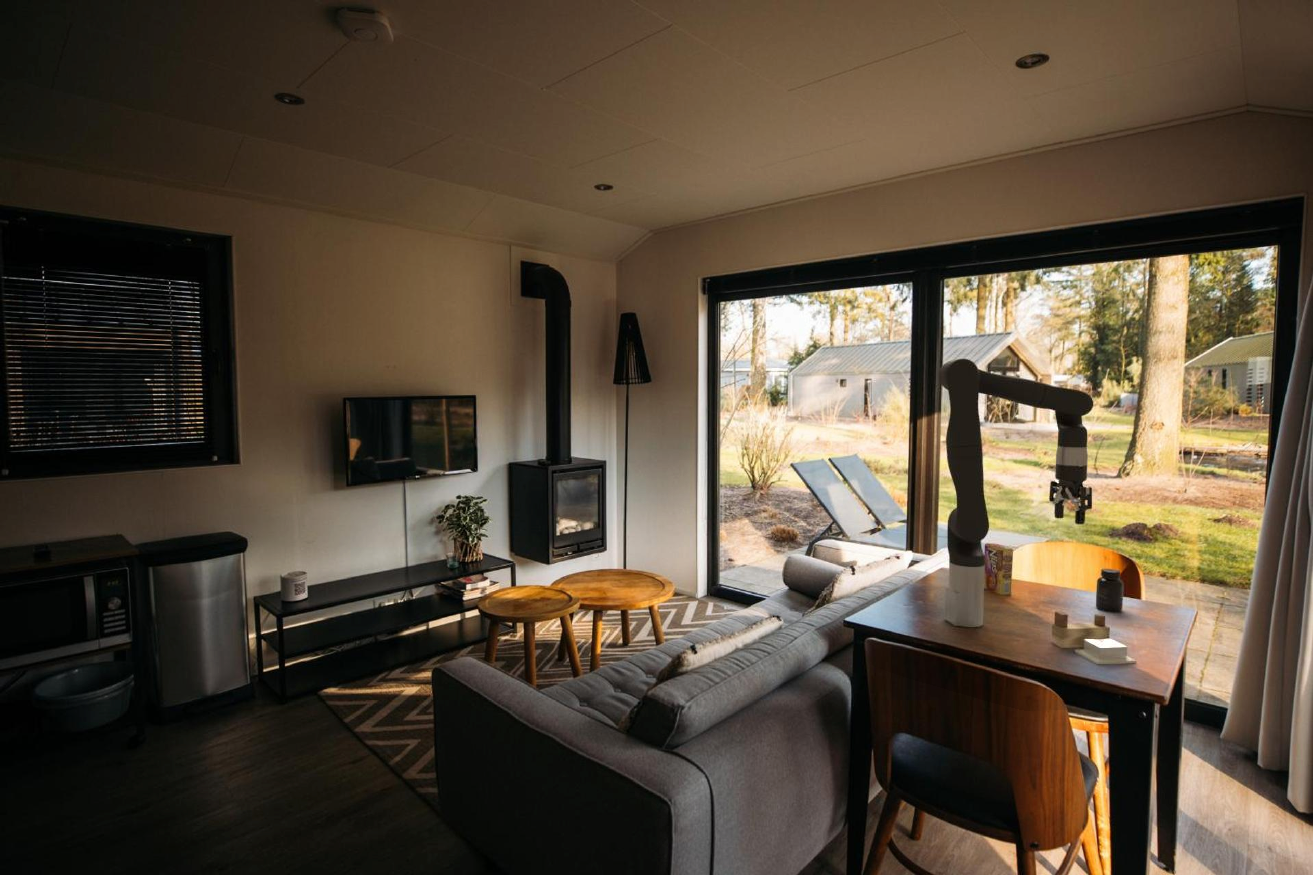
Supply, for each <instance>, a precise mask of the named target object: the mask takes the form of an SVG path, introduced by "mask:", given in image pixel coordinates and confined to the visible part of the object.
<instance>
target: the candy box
mask: <svg viewBox="0 0 1313 875" xmlns="http://www.w3.org/2000/svg"><path fill="white" fill-rule="evenodd" d="M983 553H984V556H985V567H984V590H988V591H990V592H993V593H996V594H997V595H1001V596H1004V595H1007V596H1008V595H1012V582H1013V581H1012V580H1013V564H1014V563H1013V562H1014V548H1012V547H1009V546H1005V545H1001V544H998V543H995V542H989V543H988V542H987V543H984V551H983Z"/></svg>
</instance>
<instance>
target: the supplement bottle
mask: <svg viewBox="0 0 1313 875" xmlns="http://www.w3.org/2000/svg"><path fill="white" fill-rule="evenodd" d="M1120 578H1121V571H1120V570H1117V569H1115V568H1101V570H1100V577H1098V578H1097V579H1096V592H1095V607H1096V608H1097V609H1098V610H1101V611H1103V610H1104V611H1105V612H1109V613H1120V612H1122V611H1123V604H1124V582H1123V581H1122V580H1121V579H1120Z"/></svg>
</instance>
